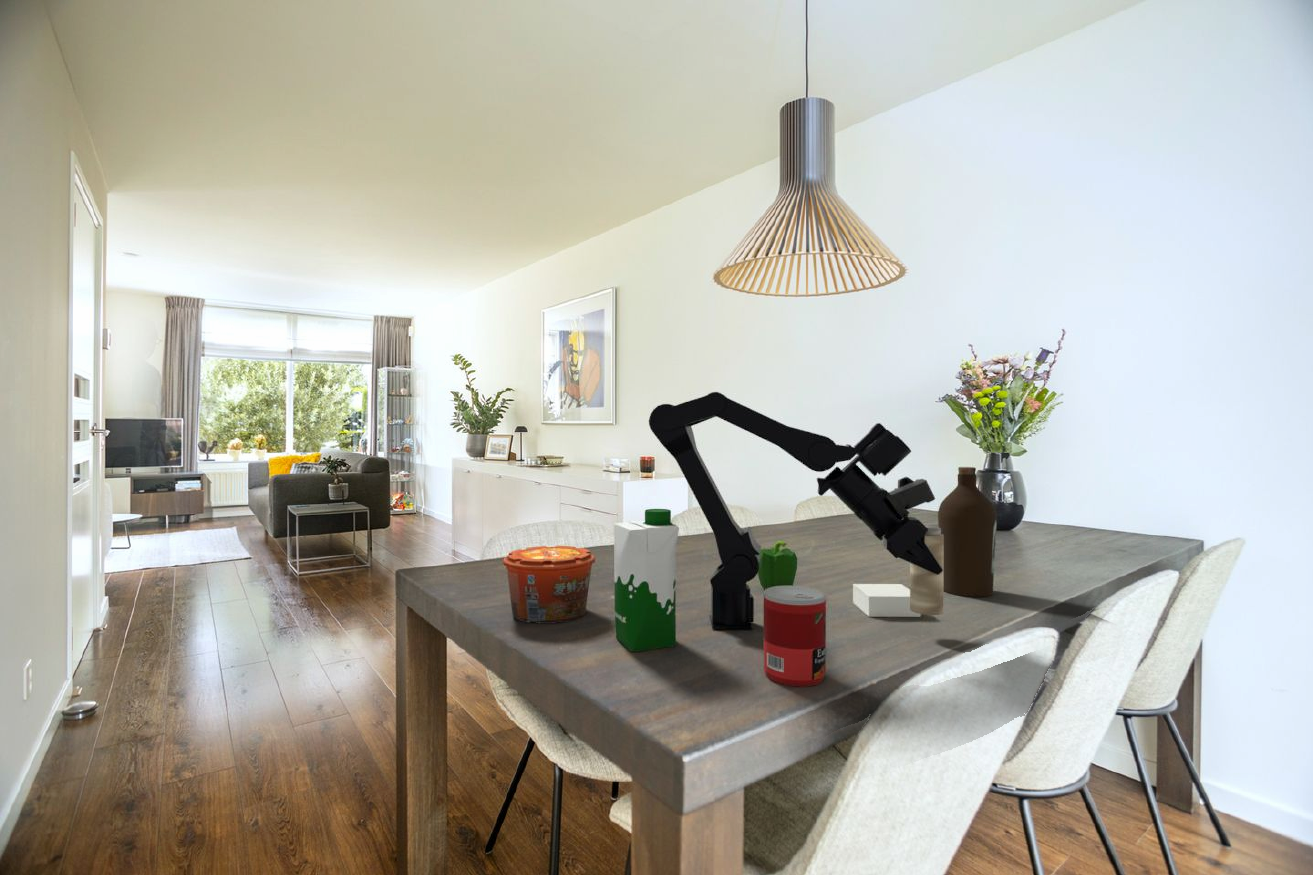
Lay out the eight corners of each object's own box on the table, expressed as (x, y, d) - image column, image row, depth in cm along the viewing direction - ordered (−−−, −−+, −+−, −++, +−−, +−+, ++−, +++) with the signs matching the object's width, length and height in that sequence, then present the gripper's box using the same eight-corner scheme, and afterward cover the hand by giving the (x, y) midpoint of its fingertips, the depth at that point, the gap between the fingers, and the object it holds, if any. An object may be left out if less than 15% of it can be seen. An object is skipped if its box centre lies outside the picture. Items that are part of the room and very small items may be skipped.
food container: (612, 615, 109) (612, 554, 109) (527, 633, 99) (527, 566, 99) (567, 596, 121) (567, 541, 121) (488, 610, 112) (488, 551, 112)
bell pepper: (751, 584, 131) (751, 536, 131) (789, 583, 132) (789, 536, 132) (762, 594, 123) (762, 543, 123) (802, 593, 124) (802, 543, 124)
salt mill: (917, 615, 95) (917, 530, 95) (905, 606, 100) (905, 525, 100) (949, 615, 95) (949, 530, 95) (935, 606, 100) (935, 525, 100)
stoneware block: (868, 616, 108) (868, 596, 108) (852, 602, 117) (852, 583, 117) (920, 616, 108) (920, 596, 108) (900, 602, 117) (900, 584, 117)
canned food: (827, 690, 77) (827, 601, 77) (762, 684, 79) (762, 598, 79) (823, 667, 85) (823, 586, 85) (764, 662, 86) (764, 583, 86)
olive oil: (945, 596, 121) (945, 468, 121) (931, 583, 131) (932, 465, 131) (1004, 599, 119) (1005, 469, 119) (986, 586, 129) (986, 466, 129)
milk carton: (684, 646, 93) (684, 512, 92) (627, 655, 89) (627, 516, 89) (660, 629, 101) (660, 506, 101) (607, 637, 97) (607, 509, 97)
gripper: (912, 464, 89) (996, 544, 87) (891, 458, 107) (960, 525, 105) (854, 517, 91) (935, 597, 88) (843, 503, 109) (910, 569, 107)
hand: (936, 568), depth 97 cm, fingers closed on salt mill, 5 cm apart
